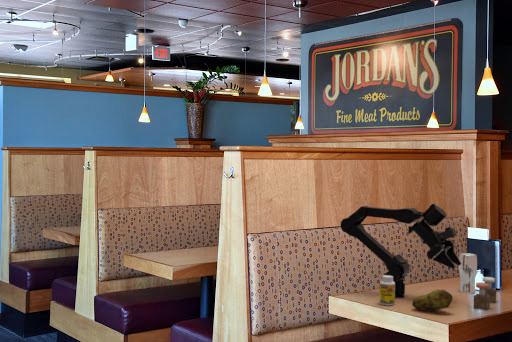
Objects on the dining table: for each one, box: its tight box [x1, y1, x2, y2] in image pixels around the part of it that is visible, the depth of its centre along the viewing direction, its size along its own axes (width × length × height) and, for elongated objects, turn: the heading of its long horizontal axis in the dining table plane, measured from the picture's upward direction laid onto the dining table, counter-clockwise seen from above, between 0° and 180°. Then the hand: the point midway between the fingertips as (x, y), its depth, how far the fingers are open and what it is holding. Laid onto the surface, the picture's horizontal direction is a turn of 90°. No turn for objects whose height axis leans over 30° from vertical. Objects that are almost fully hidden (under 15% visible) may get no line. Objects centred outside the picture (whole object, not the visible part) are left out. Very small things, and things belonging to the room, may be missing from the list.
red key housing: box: [473, 293, 491, 311], centre depth 223 cm, size 5×5×4 cm
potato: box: [412, 289, 453, 312], centre depth 217 cm, size 8×13×8 cm, turn 47°
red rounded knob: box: [475, 282, 489, 297], centre depth 223 cm, size 4×4×5 cm
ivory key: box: [482, 276, 496, 290], centre depth 234 cm, size 4×4×5 cm
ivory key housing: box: [485, 287, 497, 304], centre depth 234 cm, size 5×5×4 cm
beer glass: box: [458, 252, 478, 294], centre depth 251 cm, size 7×7×15 cm
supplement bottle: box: [378, 274, 396, 306], centre depth 227 cm, size 6×6×10 cm
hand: (457, 266), depth 228 cm, fingers open, 8 cm apart
